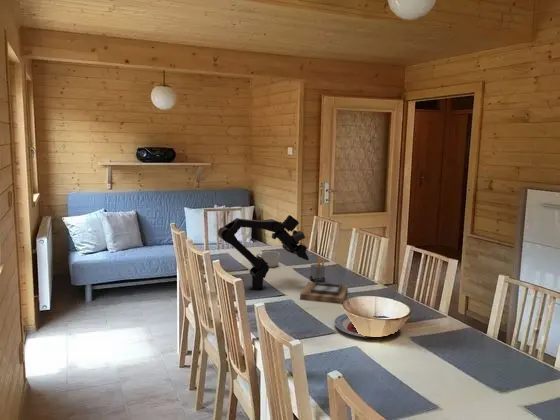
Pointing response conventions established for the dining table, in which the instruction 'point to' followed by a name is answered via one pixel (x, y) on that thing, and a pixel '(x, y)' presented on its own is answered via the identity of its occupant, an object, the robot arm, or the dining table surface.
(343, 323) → the ceramic plate
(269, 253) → the teacup
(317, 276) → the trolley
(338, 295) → the dock
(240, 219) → the robot arm
